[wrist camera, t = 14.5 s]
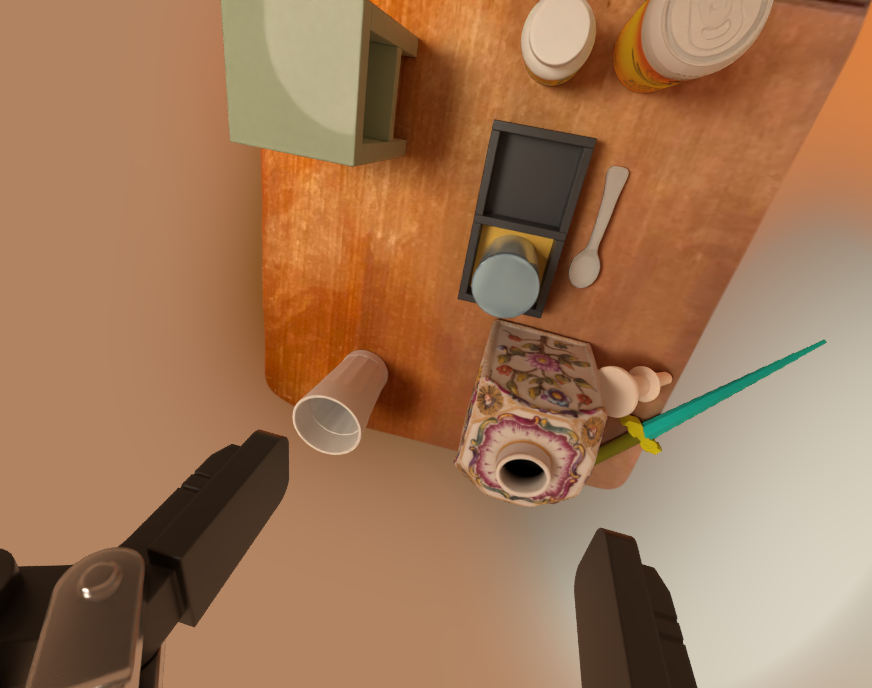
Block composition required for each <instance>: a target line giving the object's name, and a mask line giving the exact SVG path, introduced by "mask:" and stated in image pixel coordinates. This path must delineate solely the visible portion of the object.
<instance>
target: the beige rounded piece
mask: <svg viewBox="0 0 872 688" xmlns="http://www.w3.org/2000/svg"><path fill="white" fill-rule="evenodd" d="M598 373H599V377H600V382H601V385H602V391H603V395H604V399H605V404H606V408H607V413H608V416H610V417H615V418H619V417H624V416H627V415H629V414H630V413H631V412H633V411H634V409H635V408H636V406H637V403H638V401H641V402H650V401H652V400H654V399H655V398H656V397H657V396H658V394H659V392H660V387H661V386H664V385H666V384H670V383H671V382H672V376H671V375H670V374H669V373H667V372H659V373H655V372H654V371H653V370H651V369H650V368H648V367H645V366H638V367H634V368H633V369H631V370H630V371H629V372H627V371H626V370H624V369H623V368H620V367H617V366H607V367H603V368H601V369H599V370H598Z"/></svg>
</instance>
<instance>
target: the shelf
mask: <svg viewBox="0 0 872 688" xmlns="http://www.w3.org/2000/svg"><path fill="white" fill-rule="evenodd" d="M221 10H222V24H223V39H224V55H225V69H226V85H227V100H228V115H229V130H230V141H231V142H235V143H240V144H245V145H250V146H254V147H259V148H264V149H269V150H274V151H279V152H283V153H288V154H293V155H298V156H303V157H308V158H313V159H318V160H322V161H327V162H332V163H337V164H342V165H347V166H352V167H354V166H359V165H364V164H369V163H374V162H379V161H383V160H388V159H393V158H398V157H402V156H405V153H406V144H407V140H403V139H398V138H393V132H394V122H395V112H396V102H397V92H398V83H399V73H400V63H401V55H405V56H411V57H417V50H418V41H419V38H418V37H416V36H415V35H414V34H412V33H411V32H410V31H409V30H407V29H406V28H405V27H403V26H402V25H401V24H399V23H398V22H397V21H395V20H394V19H393V18H391V17H390V16H389V15H388V14H386V13H385V12H384V11H382V10H381V9H380V8H378V7H377V6H376V5H374V4H373V3H372V2H370V1H369V0H221Z"/></svg>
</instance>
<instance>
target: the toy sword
mask: <svg viewBox="0 0 872 688" xmlns="http://www.w3.org/2000/svg"><path fill="white" fill-rule="evenodd" d="M825 343H826V341H825V340H822V341H820V342H818V343H816V344H814V345H812V346H810V347H807V348H805V349H803V350H801V351H798V352H796V353H793V354H791V355H789V356H787V357H785V358H783V359H781V360H777V361H776V362H774V363H772V364H770V365H768V366H765V367H762V368H760V369H759V370H757V371H755V372H753V373H750V374H747V375H745V376H744V377H741V378H740V379H737V380H734V381H732V382H730V383H728V384H727V385H724V386H721V387H719V388H717V389H715V390H713V391H711V392H708V393H706V394H704V395H702V396H700V397H698V398H695V399H693V400H691V401H689V402H687V403H684V404H682V405H680V406H678V407H676V408H674V409H671V410H669V411H667V412H665V413H663V414H661V415H658V416H656V417H654V418H652V419H650V420H647V421H645V422H643V423H642V424H641V422H640V420H639V419H638V418H637V417H634V416H631V415H627V416H624V417H621V418H619V419H620V422H621V424H622V425H624V426H626V427H627V430H628V433H626V434H624V435H622V436H620V437H618V438H616V439H615V440H613V441H611V442H609V443H607V444H605V445H603V446H601V447H599V452H598V454H597V458H596V461H595V464H594V465H596V464H598V463H600V462H602V461H604V460H606V459H608V458H610V457H612V456H614V455H616V454H618V453H620V452H622V451H624V450H626V449H628V448H630V447H632V446H635V445H637V444H640V446H641V447H642V448H643V449H644V451H646V452H650V453H653V454H655V455H656V454H658V452H660V451H662V449H661V447H660V445H659V443H658V442H656V441H655V439H654V438H656V437H658V436H659V435H661V434H663V433H664V432H667V431H669V430H670V429H672V428H673V427H675V426H678V425H679V424H681V423H683V422H684V421H686V420H688V419H691V418H692V417H694V416H695V415H697V414H699V413H701V412H703V411H705V410H706V409H708V408H709V407H712V406H714V405H716V404H717V403H719V402H720V401H722V400H724V399H726V398H729V397H730V396H732V395H733V394H735V393H737V392H739V391H741V390H743V389H744V388H745V387H748V386H749V385H752V384H753V383H756V382H757V381H758V380H760V379H762V378H764V377H766V376H768V375H770V374H771V373H773V372H775V371H776V370H778V369H781V368H783V367H784V366H785V365H787V364H789V363H791V362H793V361H795V360H797V359H798V358H800V357H801V356H803V355H805V354H807V353H808V352H810V351H812V350H814V349H816V348H818V347H819V346H821V345H823V344H825Z"/></svg>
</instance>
